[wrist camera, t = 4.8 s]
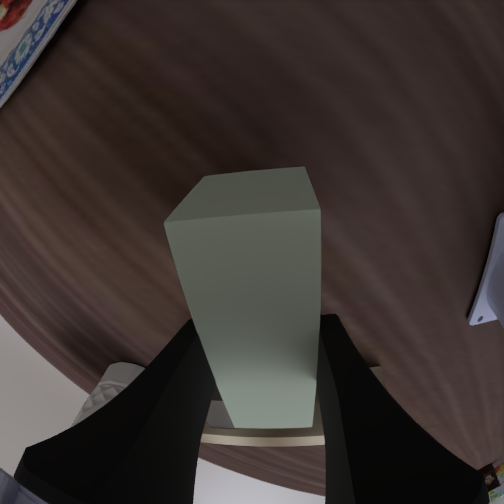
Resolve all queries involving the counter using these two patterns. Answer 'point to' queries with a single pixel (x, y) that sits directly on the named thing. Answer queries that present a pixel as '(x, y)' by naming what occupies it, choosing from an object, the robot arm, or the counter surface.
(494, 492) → the snack box
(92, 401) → the white cup
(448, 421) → the counter surface
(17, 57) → the ceramic plate
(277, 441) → the wooden base
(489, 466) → the coffee mug
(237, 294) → the block
